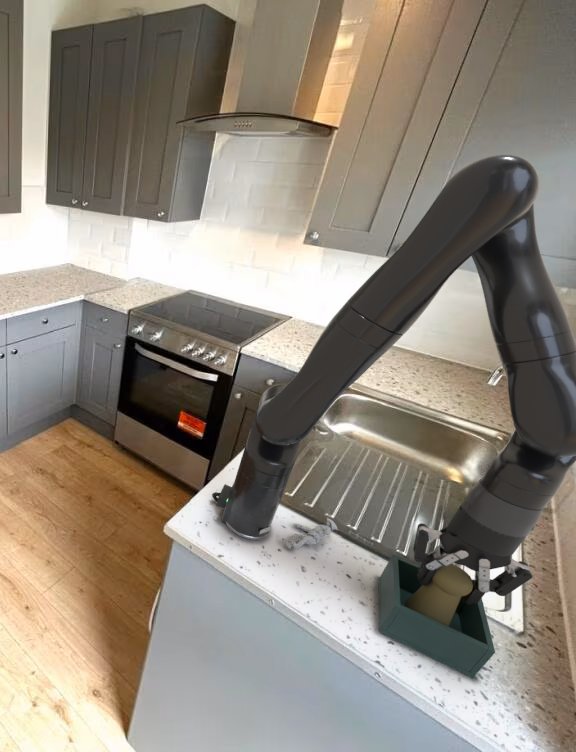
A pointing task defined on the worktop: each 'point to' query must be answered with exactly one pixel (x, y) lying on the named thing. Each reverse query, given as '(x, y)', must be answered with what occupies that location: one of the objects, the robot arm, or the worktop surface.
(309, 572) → the worktop surface
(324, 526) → the soldier figure
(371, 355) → the robot arm
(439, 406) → the worktop surface
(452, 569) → the cork
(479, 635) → the tote
